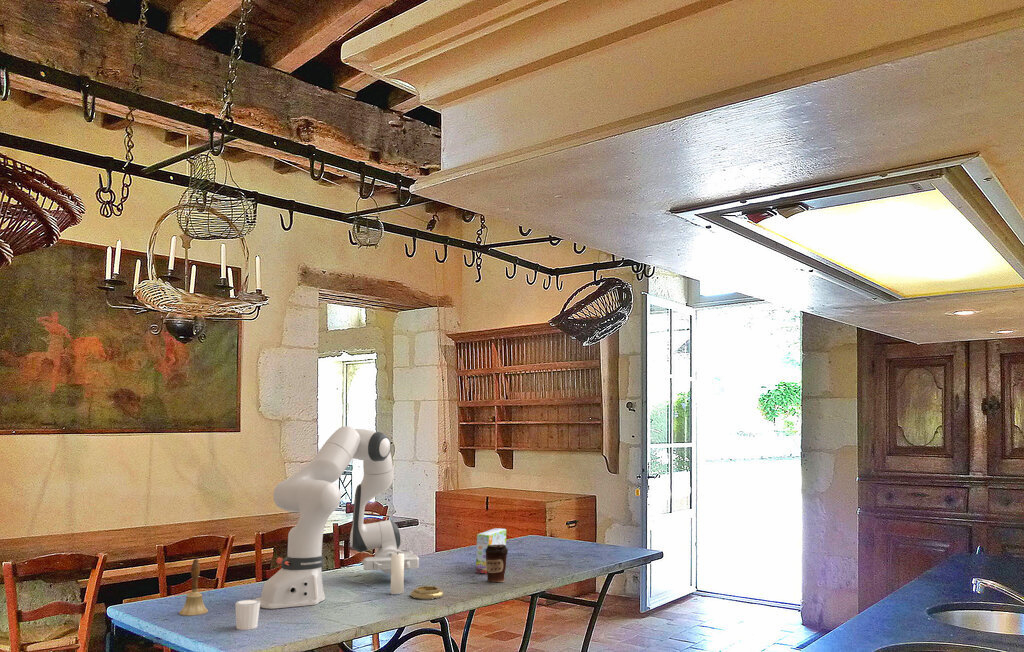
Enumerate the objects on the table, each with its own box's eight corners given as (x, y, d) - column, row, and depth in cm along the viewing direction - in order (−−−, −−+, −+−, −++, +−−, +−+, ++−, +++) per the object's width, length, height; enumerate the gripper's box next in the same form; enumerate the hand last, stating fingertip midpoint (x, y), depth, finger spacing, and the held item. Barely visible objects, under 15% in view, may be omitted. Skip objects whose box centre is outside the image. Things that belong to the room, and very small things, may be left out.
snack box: (488, 574, 310) (489, 534, 312) (475, 573, 312) (475, 534, 313) (506, 565, 330) (506, 528, 332) (493, 564, 332) (494, 527, 333)
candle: (394, 595, 272) (395, 553, 273) (388, 593, 275) (389, 551, 277) (405, 593, 274) (406, 552, 276) (399, 591, 278) (400, 550, 279)
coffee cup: (504, 584, 291) (505, 547, 293) (482, 583, 293) (482, 546, 294) (509, 579, 300) (509, 544, 301) (488, 578, 301) (488, 543, 303)
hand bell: (207, 615, 243) (209, 560, 245) (177, 616, 240) (180, 562, 242) (209, 608, 251) (211, 556, 253) (180, 610, 248) (183, 557, 250)
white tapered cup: (228, 628, 226) (230, 603, 227) (245, 623, 233) (246, 598, 234) (248, 631, 224) (249, 605, 225) (264, 625, 230) (265, 600, 231)
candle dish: (421, 601, 263) (421, 593, 263) (404, 595, 271) (405, 587, 272) (449, 596, 269) (450, 589, 270) (432, 591, 278) (432, 584, 278)
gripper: (361, 552, 297) (364, 558, 284) (416, 550, 303) (421, 556, 289) (360, 570, 297) (363, 576, 283) (415, 567, 302) (421, 574, 289)
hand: (393, 566), depth 286 cm, fingers open, 8 cm apart
